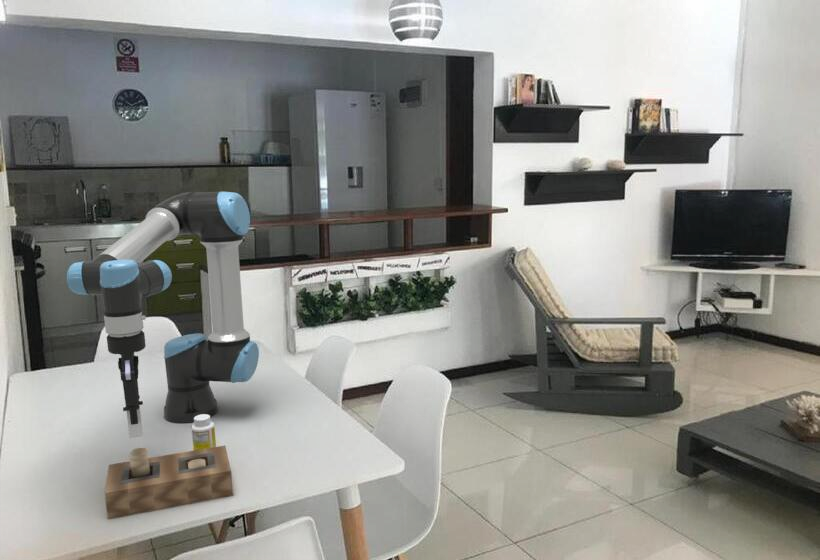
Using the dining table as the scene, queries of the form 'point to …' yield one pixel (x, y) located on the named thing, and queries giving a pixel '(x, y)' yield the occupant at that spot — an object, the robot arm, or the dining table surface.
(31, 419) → the dining table surface
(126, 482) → the socket block
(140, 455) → the beige round peg
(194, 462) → the short peg
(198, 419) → the supplement bottle
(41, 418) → the dining table surface
